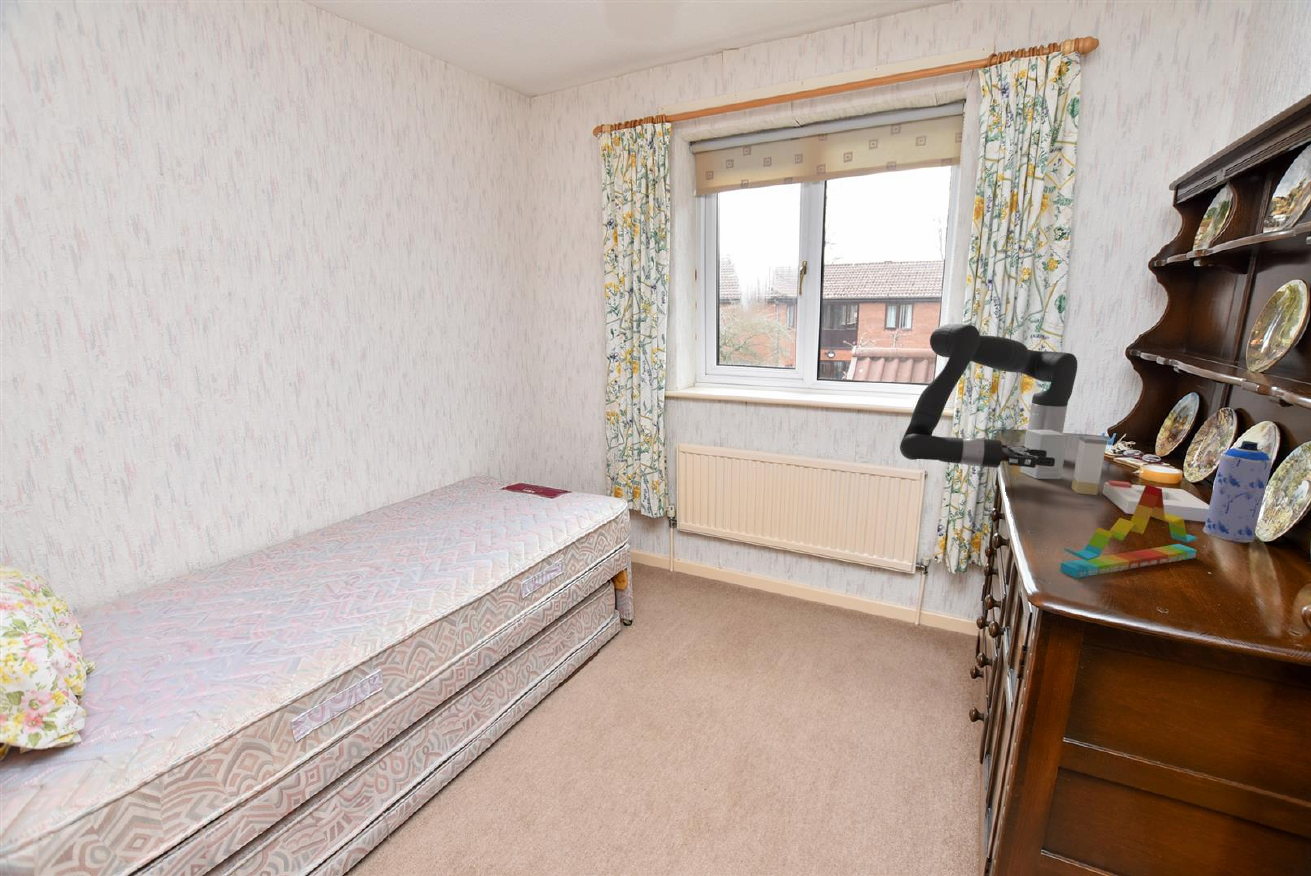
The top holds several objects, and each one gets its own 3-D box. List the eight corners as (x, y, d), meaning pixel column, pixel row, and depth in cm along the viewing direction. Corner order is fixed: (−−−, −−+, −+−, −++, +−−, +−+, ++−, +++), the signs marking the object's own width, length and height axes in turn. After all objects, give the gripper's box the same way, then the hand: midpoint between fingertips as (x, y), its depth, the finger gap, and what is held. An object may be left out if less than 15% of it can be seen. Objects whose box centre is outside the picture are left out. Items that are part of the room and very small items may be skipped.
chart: (1077, 580, 101) (1092, 498, 98) (1059, 572, 104) (1073, 492, 101) (1195, 559, 110) (1213, 484, 107) (1176, 553, 113) (1193, 479, 110)
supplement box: (1061, 479, 161) (1069, 434, 158) (1034, 479, 161) (1041, 434, 158) (1045, 472, 168) (1052, 429, 165) (1019, 471, 168) (1025, 429, 165)
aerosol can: (1264, 540, 119) (1288, 445, 115) (1237, 544, 117) (1261, 447, 113) (1218, 526, 127) (1239, 436, 122) (1193, 530, 124) (1213, 438, 120)
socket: (1102, 493, 149) (1105, 479, 148) (1180, 501, 143) (1183, 486, 142) (1126, 513, 134) (1129, 497, 133) (1214, 522, 129) (1217, 506, 128)
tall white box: (1070, 488, 153) (1079, 435, 150) (1091, 490, 152) (1101, 436, 148) (1076, 493, 149) (1085, 438, 146) (1097, 495, 147) (1107, 440, 144)
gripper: (985, 444, 150) (1059, 450, 144) (977, 433, 163) (1045, 438, 157) (982, 472, 152) (1055, 479, 146) (974, 459, 164) (1041, 465, 159)
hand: (1050, 458), depth 152 cm, fingers open, 8 cm apart
